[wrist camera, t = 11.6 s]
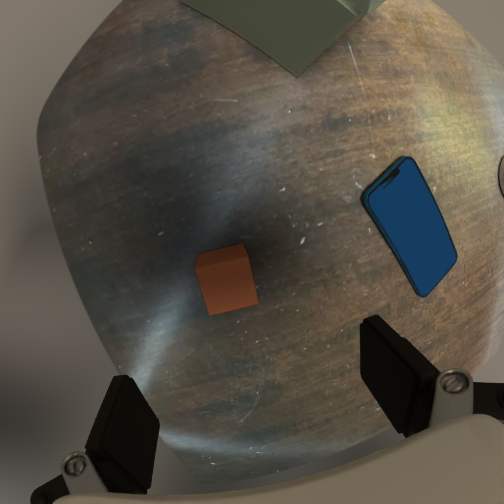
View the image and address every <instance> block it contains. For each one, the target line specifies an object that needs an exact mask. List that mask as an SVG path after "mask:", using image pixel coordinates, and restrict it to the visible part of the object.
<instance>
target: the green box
mask: <svg viewBox="0 0 504 504" xmlns="http://www.w3.org/2000/svg"><path fill="white" fill-rule="evenodd" d="M180 2H181V3H183V4H185V5H187V6H189V7H191V8H193V9H195V10H197V11H199V12H201V13H202V14H204V15H206V16H208V17H209V18H211V19H213V20H215V21H216V22H218V23H220V24H221V25H223V26H225V27H226V28H228V29H230V30H231V31H233V32H234V33H236V34H237V35H239V36H241V37H242V38H244V39H245V40H247V41H248V42H250V43H251V44H252V45H254V46H255V47H257V48H258V49H260V50H261V51H262V52H264V53H265V54H267V55H268V56H269V57H271V58H272V59H273V60H275V61H276V62H277V63H279V64H280V65H281V66H283V67H284V68H285V69H286V70H288V71H289V72H290V73H291V74H293V75H294V76H295V77H296V78H298V77H299V76H300V75H301V74H302V73H303V72H304V71H305V70H306V69H307V68H308V67H309V66H310V65H311V64H312V63H313V62H314V61H315V60H316V59H317V58H318V57H319V56H320V55H321V54H322V53H323V52H325V51H326V50H327V49H328V48H329V47H330V46H331V45H332V44H333V43H334V42H335V41H337V40H338V39H339V38H340V37H341V36H342V35H343V34H344V33H346V32H347V31H348V30H349V29H350V28H351V27H352V26H354V25H355V24H356V23H357V22H358V21H359V20H361V19H362V18H363V17H364V16H365V15H366V14H364V13H362V12H360V11H358V10H356V9H355V3H356V0H180Z"/></svg>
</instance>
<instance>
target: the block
mask: <svg viewBox="0 0 504 504" xmlns="http://www.w3.org/2000/svg"><path fill="white" fill-rule="evenodd" d="M195 272H196V275H197V278H198V282H199V285H200V288H201V291H202V294H203V298H204V301H205V304H206V307H207V310H208V313H209V315H210V316H211V315H215V314H219V313H224V312H228V311H232V310H236V309H241V308H245V307H249V306H253V305H257V304H259V300H258V296H257V292H256V288H255V283H254V279H253V275H252V271H251V266H250V262H249V258H248V255H247V252H246V249H245V246H244V244H243V243H242V244H237V245H233V246H229V247H225V248H221V249H217V250H213V251H209V252H205V253H201V254H198V258H197V263H196V267H195Z"/></svg>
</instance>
